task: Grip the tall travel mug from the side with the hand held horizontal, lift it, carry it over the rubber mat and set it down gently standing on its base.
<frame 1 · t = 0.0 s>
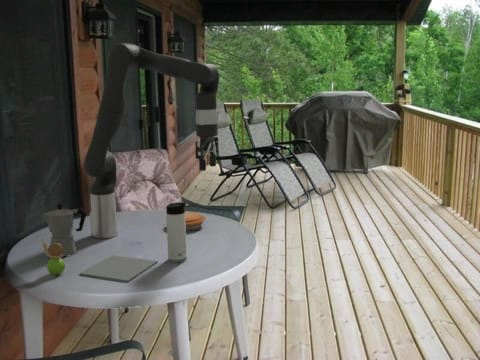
hand: (207, 168, 191), 29 cm above the table, tool pointing down, fingers open, 8 cm apart
mat: (119, 268, 177), on the table
travel mug: (178, 260, 185), on the table
snail figurine: (55, 274, 173), on the table
pie: (186, 227, 223), on the table
coffeepot: (66, 253, 193), on the table
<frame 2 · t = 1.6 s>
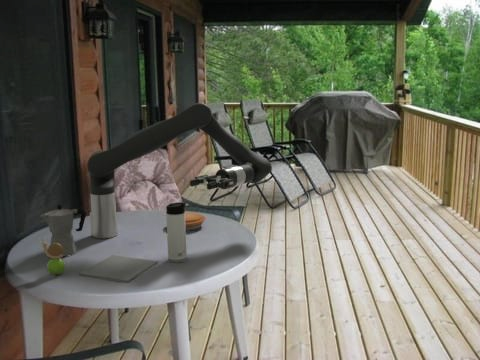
hand: (198, 185, 188), 24 cm above the table, tool horizontal, fingers open, 8 cm apart
nothing on the table moved.
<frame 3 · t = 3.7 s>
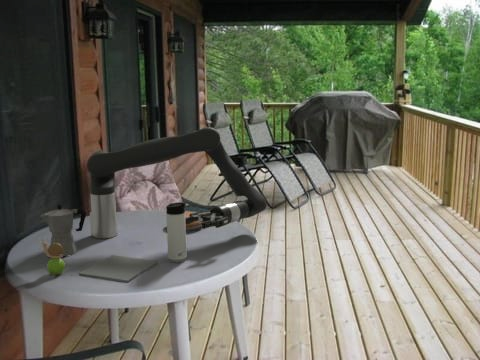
hand: (193, 223, 189), 11 cm above the table, tool horizontal, fingers open, 8 cm apart
nothing on the table moved.
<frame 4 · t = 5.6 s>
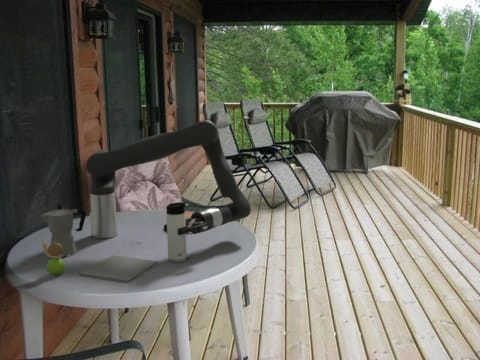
hand: (171, 230, 181), 11 cm above the table, tool horizontal, fingers closed on travel mug, 6 cm apart
travel mug: (178, 260, 185), on the table, touching gripper
everything else where it was.
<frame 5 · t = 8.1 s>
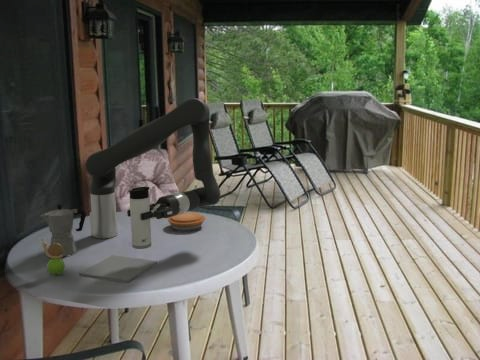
hand: (134, 215, 175), 18 cm above the table, tool horizontal, fingers closed on travel mug, 6 cm apart
travel mug: (142, 246, 179), point 6 cm above the table, touching gripper
everything else where it was.
when the fingers open (13 cm above the table, at t = 10.3 s): travel mug stays where it is, resting on mat.
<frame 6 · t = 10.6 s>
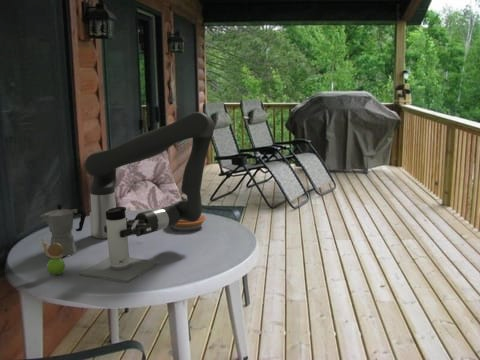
hand: (112, 231, 173), 13 cm above the table, tool horizontal, fingers open, 8 cm apart
travel mug: (120, 267, 177), resting on mat
everything else where it was.
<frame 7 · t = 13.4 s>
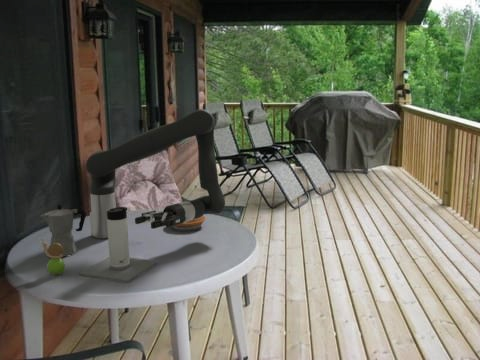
hand: (143, 223, 182), 13 cm above the table, tool horizontal, fingers open, 8 cm apart
nothing on the table moved.
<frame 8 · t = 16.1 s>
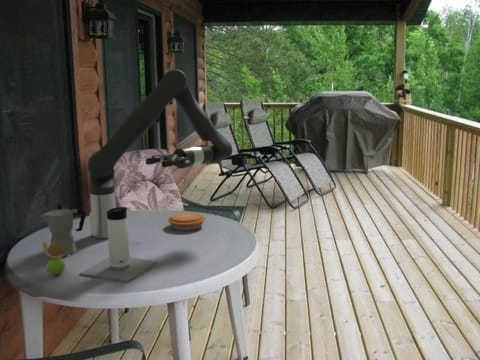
hand: (154, 163, 187), 32 cm above the table, tool horizontal, fingers open, 8 cm apart
nothing on the table moved.
at the end: travel mug inside the target area on the mat (0.2 cm from its centre), point 0.4 cm above the mat's base; travel mug tilted 0°; the gripper is holding nothing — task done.
